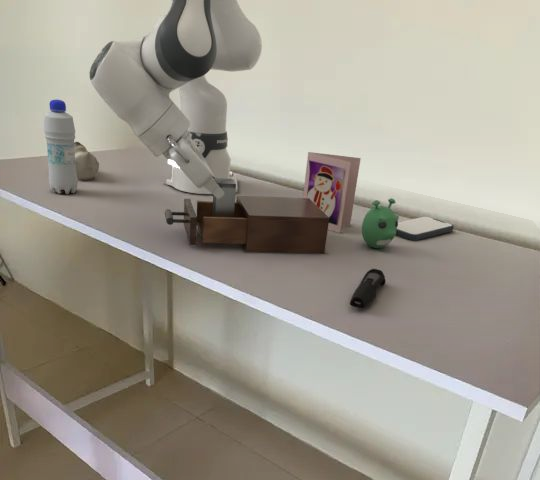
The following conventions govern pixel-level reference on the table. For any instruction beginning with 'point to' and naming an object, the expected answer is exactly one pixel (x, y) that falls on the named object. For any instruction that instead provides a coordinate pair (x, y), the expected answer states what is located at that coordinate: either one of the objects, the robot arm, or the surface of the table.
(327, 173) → the greeting card
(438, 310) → the table surface
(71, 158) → the bottle
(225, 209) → the grey block
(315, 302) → the table surface
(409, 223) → the phone case
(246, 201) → the cabinet
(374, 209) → the alien toy
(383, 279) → the electric trimmer
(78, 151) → the ceramic sculpture
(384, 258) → the table surface
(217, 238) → the drawer
